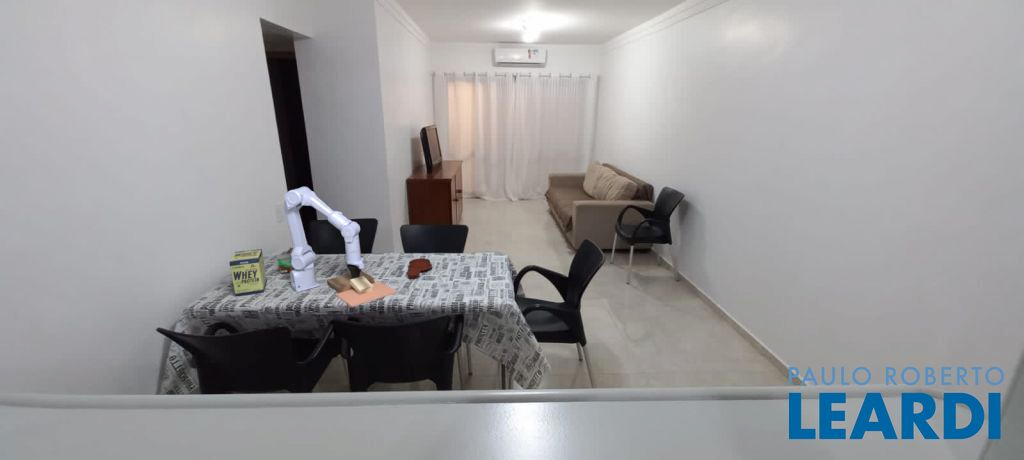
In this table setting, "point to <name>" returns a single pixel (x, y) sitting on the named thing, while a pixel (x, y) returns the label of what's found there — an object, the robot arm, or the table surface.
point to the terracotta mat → (365, 294)
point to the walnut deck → (346, 282)
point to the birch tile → (361, 285)
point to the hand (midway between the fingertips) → (356, 279)
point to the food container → (285, 261)
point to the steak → (418, 267)
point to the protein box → (248, 272)
